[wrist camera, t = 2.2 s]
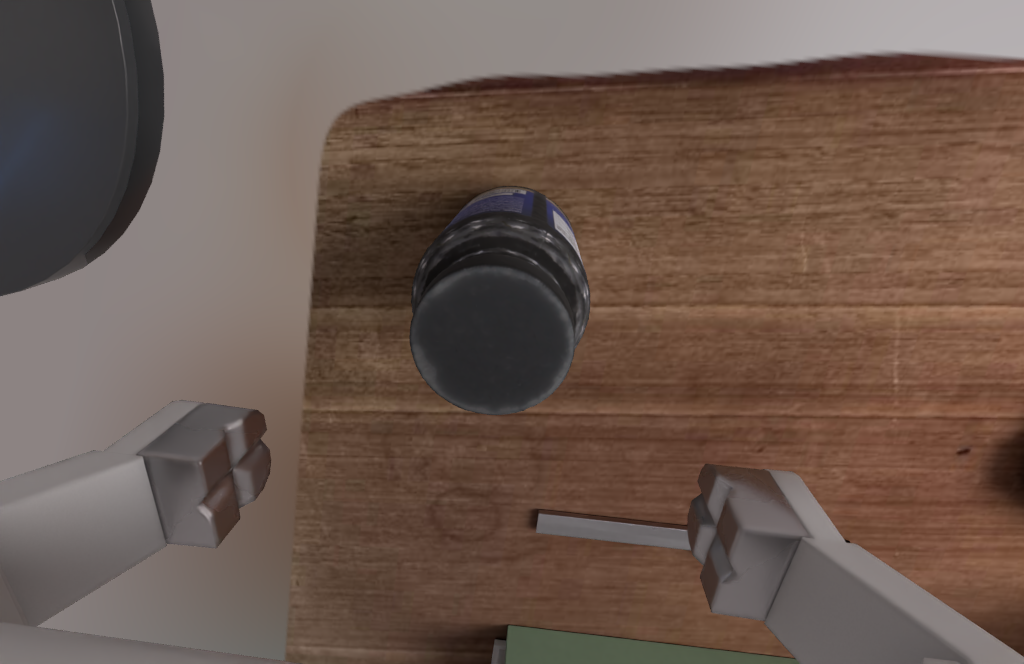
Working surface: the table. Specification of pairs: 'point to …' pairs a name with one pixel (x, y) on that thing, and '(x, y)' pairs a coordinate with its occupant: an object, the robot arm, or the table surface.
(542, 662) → the green board
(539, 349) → the pill bottle
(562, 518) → the table knife
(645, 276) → the table surface
